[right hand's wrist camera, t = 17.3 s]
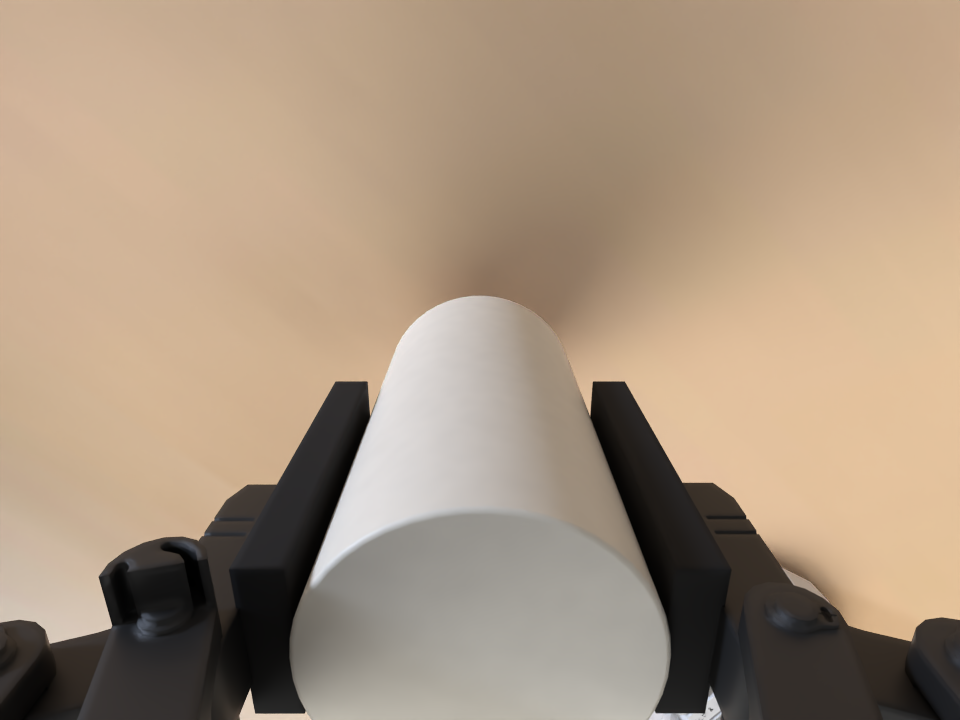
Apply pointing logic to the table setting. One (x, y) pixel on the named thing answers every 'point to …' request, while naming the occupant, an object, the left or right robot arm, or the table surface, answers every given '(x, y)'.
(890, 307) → the table surface
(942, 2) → the table surface
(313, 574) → the canister
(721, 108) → the table surface
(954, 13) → the table surface
